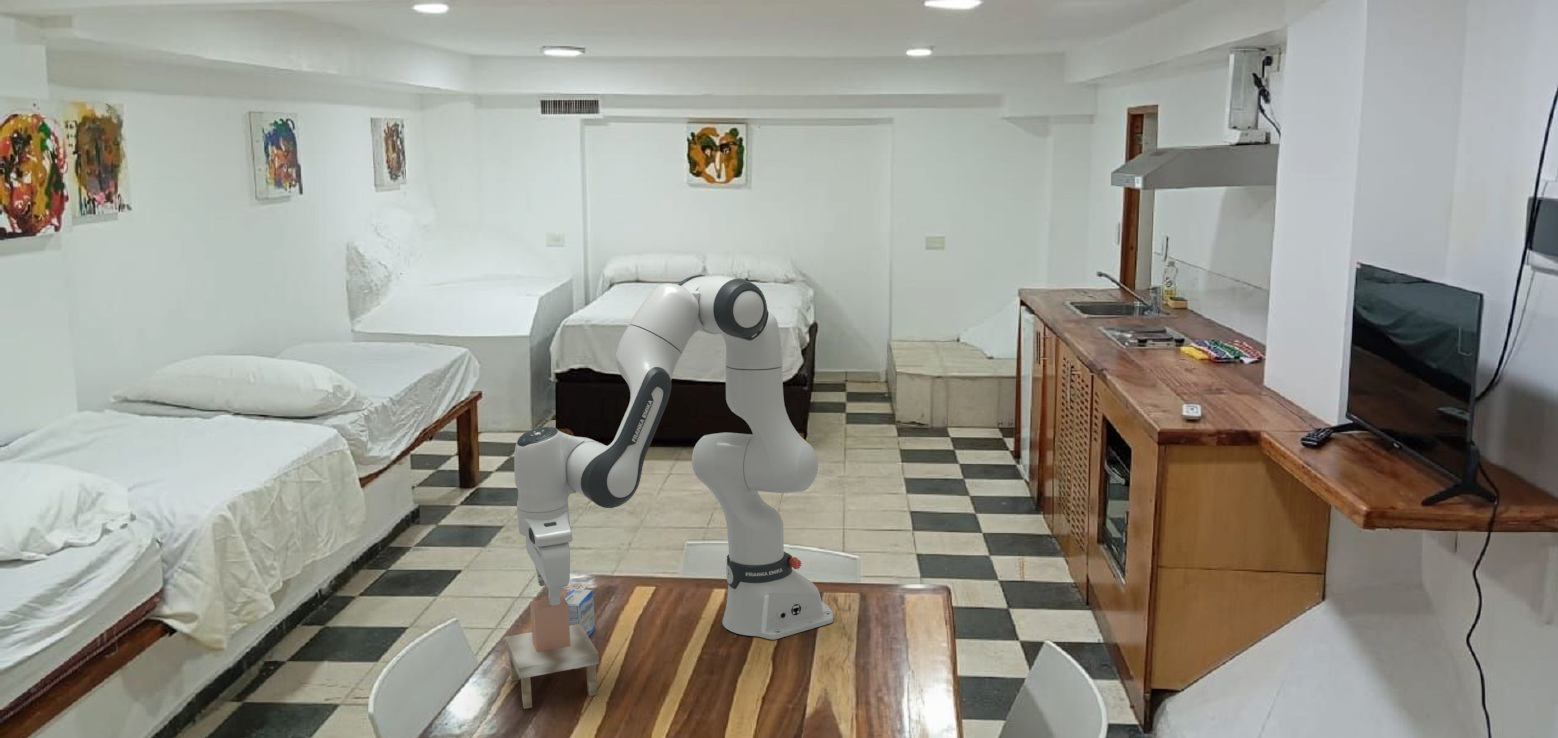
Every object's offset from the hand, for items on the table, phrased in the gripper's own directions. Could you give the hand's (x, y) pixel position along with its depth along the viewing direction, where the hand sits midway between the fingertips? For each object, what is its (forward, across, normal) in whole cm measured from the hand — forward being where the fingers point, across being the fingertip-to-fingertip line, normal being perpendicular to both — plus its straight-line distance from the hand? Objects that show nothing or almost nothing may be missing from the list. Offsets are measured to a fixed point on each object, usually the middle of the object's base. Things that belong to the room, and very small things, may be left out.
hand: (548, 593), depth 216 cm
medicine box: (+18, -19, +8) cm, 27 cm away
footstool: (+18, 0, 0) cm, 18 cm away
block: (+10, 0, 0) cm, 10 cm away
